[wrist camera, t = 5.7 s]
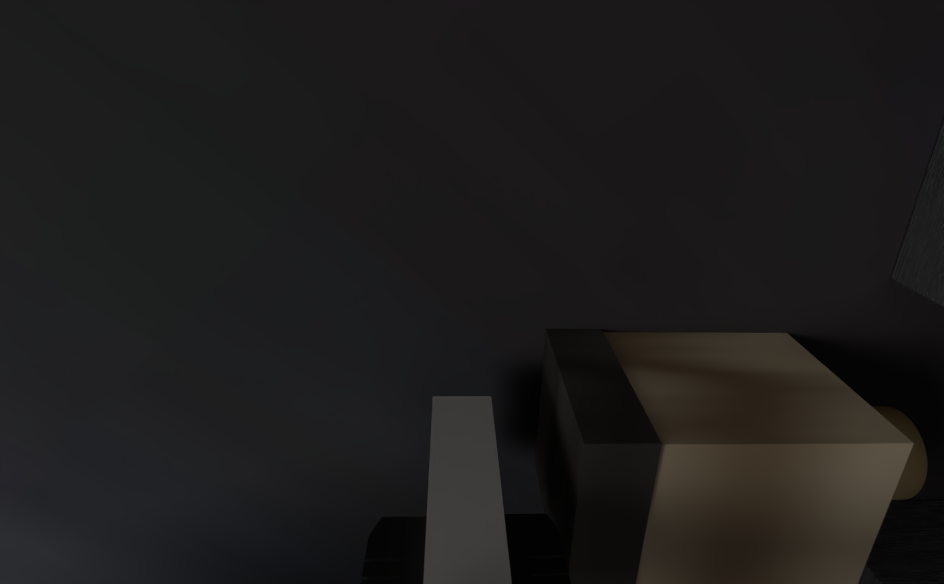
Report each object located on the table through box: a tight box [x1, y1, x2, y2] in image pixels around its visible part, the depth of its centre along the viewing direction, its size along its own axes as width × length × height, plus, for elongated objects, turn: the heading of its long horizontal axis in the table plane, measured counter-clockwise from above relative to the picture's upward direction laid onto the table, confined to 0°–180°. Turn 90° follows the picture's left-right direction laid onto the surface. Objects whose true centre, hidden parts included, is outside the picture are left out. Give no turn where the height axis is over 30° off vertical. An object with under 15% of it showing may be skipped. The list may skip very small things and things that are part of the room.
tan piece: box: [535, 329, 927, 584], centre depth 15 cm, size 9×5×5 cm, turn 89°
